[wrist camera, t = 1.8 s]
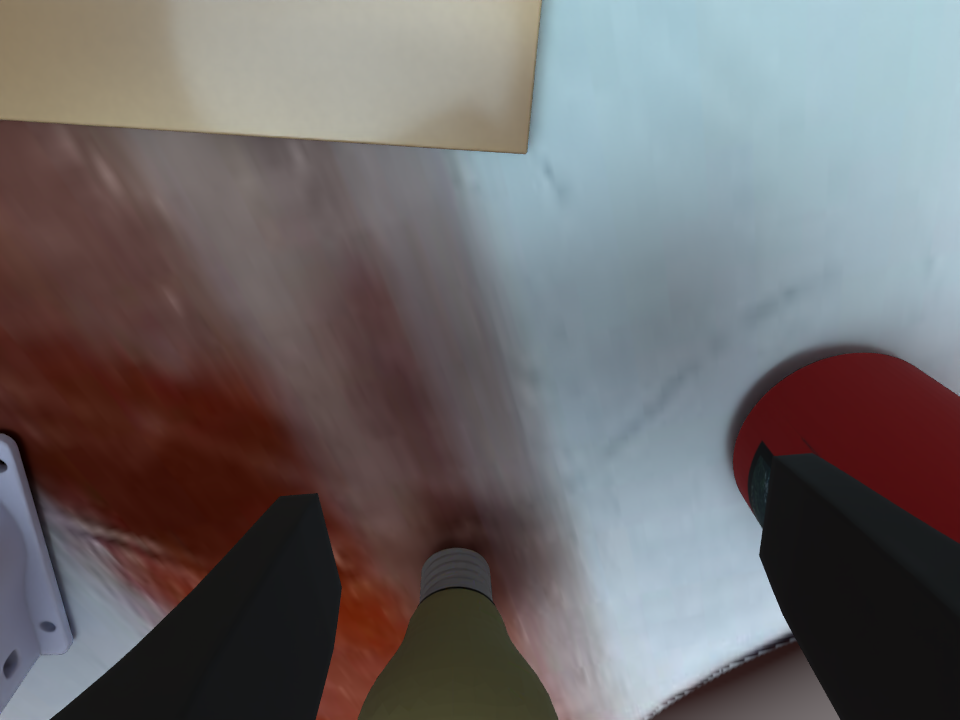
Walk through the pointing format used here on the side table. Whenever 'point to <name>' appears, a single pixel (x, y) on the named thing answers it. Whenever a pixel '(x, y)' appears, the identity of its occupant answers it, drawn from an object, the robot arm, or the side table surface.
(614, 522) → the side table surface
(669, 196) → the side table surface
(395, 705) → the light bulb
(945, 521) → the beverage can
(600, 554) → the side table surface
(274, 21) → the maple board
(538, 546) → the side table surface
